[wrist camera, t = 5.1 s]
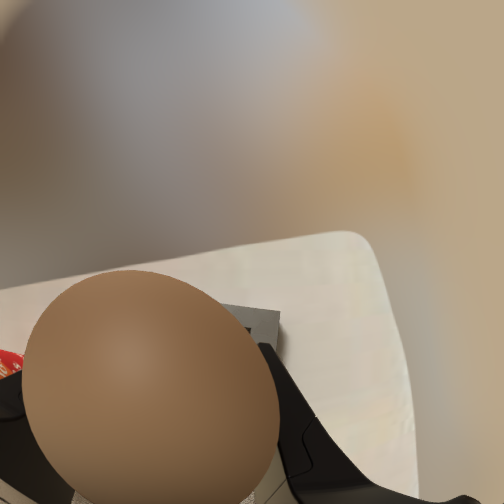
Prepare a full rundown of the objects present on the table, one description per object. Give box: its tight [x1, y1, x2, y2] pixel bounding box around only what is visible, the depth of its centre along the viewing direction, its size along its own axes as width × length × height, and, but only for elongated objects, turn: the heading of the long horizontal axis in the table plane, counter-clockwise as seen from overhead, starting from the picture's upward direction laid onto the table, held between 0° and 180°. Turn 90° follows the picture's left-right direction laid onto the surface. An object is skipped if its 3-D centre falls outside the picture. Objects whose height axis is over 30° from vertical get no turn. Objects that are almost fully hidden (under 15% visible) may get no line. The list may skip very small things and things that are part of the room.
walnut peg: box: [22, 270, 280, 504], centre depth 9 cm, size 4×4×12 cm
